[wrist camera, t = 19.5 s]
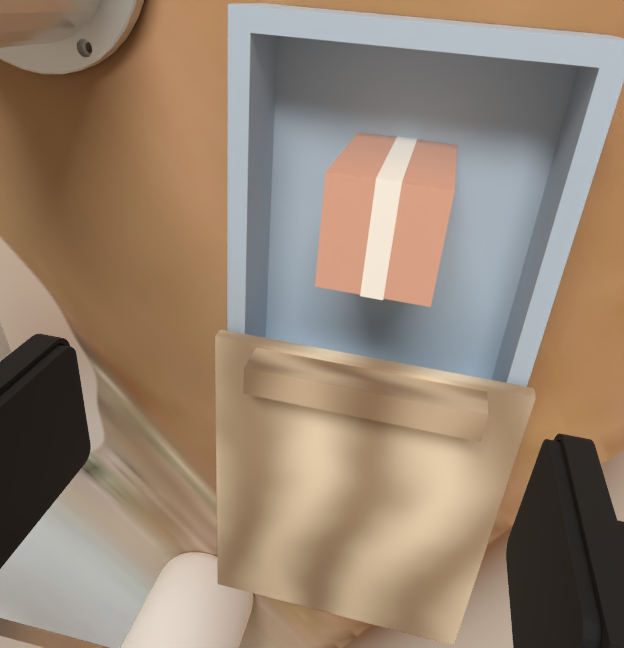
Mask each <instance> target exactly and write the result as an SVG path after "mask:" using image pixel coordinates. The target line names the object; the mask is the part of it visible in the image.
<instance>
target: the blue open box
mask: <svg viewBox="0 0 624 648" xmlns="http://www.w3.org/2000/svg"><path fill="white" fill-rule="evenodd" d="M623 82H624V38H620V37H616V36H612V35H607V34H596V33H585V32H574V31H563V30H552V29H541V28H530V27H519V26H508V25H497V24H487V23H476V22H465V21H454V20H443V19H432V18H421V17H410V16H399V15H388V14H377V13H366V12H355V11H344V10H333V9H322V8H311V7H300V6H289V5H279V4H268V3H244V4H228V296H227V331H231V332H237V333H242V334H247V335H253V336H258V337H264V338H269V339H274V340H280V341H285V342H290V343H296V344H301V345H306V346H312V347H317V348H323V349H328V350H333V351H339V352H344V353H349V354H355V355H360V356H365V357H371V358H376V359H381V360H387V361H392V362H398V363H403V364H408V365H414V366H419V367H424V368H430V369H435V370H440V371H446V372H451V373H456V374H462V375H467V376H473V377H478V378H483V379H489V380H494V381H499V382H505V383H510V384H515V385H521V386H526V387H527V384H528V381H529V378H530V375H531V372H532V369H533V365H534V362H535V359H536V356H537V353H538V350H539V346H540V343H541V340H542V337H543V334H544V331H545V328H546V324H547V321H548V318H549V315H550V312H551V309H552V306H553V302H554V299H555V296H556V293H557V290H558V287H559V284H560V280H561V277H562V274H563V271H564V268H565V265H566V261H567V258H568V255H569V252H570V249H571V246H572V243H573V239H574V236H575V233H576V230H577V227H578V224H579V221H580V217H581V214H582V211H583V208H584V205H585V202H586V199H587V195H588V192H589V189H590V186H591V183H592V180H593V176H594V173H595V170H596V167H597V164H598V161H599V158H600V154H601V151H602V148H603V145H604V142H605V139H606V136H607V132H608V129H609V126H610V123H611V120H612V117H613V114H614V110H615V107H616V104H617V101H618V98H619V95H620V91H621V88H622V85H623ZM358 132H360V133H367V134H375V135H383V136H390V137H397V136H400V137H407V138H415V139H417V140H421V141H428V142H436V143H443V144H451V145H458V146H457V163H456V180H455V192H454V197H453V202H452V207H451V211H450V216H449V221H448V226H447V231H446V236H445V240H444V245H443V250H442V255H441V260H440V265H439V269H438V274H437V279H436V284H435V289H434V294H433V298H432V303H431V307H428V306H422V305H417V304H411V303H405V302H400V301H394V300H388V299H383V300H379V299H373V298H368V297H362V296H360V294H354V293H348V292H343V291H337V290H331V289H326V288H320V287H315V280H316V269H317V258H318V247H319V236H320V225H321V214H322V204H323V193H324V182H325V172H326V171H327V169H328V168H329V167H330V166H331V165H332V163H333V162H334V161H335V160H336V158H337V157H338V156H339V155H340V154H341V152H342V151H343V150H344V149H345V147H346V146H347V145H348V144H349V142H350V141H351V140H352V139H353V138H354V136H355V135H356V134H357V133H358Z"/></svg>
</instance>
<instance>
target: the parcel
mask: <svg viewBox="0 0 624 648" xmlns="http://www.w3.org/2000/svg"><path fill="white" fill-rule="evenodd" d="M457 146H458V145H451V144H443V143H436V142H428V141H421V140H417V139H415V138H407V137H400V136H397V137H390V136H383V135H375V134H367V133H360V132H358V133H357V134H356V135H355V136H354V138H353V139H352V140H351V141H350V142H349V144H348V145H347V146H346V147H345V149H344V150H343V151H342V152H341V154H340V155H339V156H338V157H337V158H336V160H335V161H334V162H333V163H332V165H331V166H330V167H329V168H328V169H327V171H326V172H325V182H324V193H323V204H322V214H321V225H320V236H319V247H318V258H317V269H316V280H315V287H320V288H326V289H331V290H337V291H343V292H348V293H354V294H360V296H362V297H368V298H373V299H379V300H383V299H388V300H394V301H400V302H405V303H411V304H417V305H422V306H428V307H431V303H432V298H433V294H434V289H435V284H436V279H437V274H438V269H439V265H440V260H441V255H442V250H443V245H444V240H445V236H446V231H447V226H448V221H449V216H450V211H451V207H452V202H453V197H454V192H455V180H456V163H457Z"/></svg>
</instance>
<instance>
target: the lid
mask: <svg viewBox="0 0 624 648" xmlns="http://www.w3.org/2000/svg"><path fill="white" fill-rule="evenodd" d="M215 388H216V480H217V572H218V584H219V585H223V586H227V587H231V588H235V589H239V590H242V591H246V592H250V593H254V594H258V595H262V596H265V597H269V598H273V599H277V600H281V601H285V602H289V603H292V604H296V605H300V606H304V607H308V608H312V609H315V610H319V611H323V612H327V613H331V614H335V615H339V616H342V617H346V618H350V619H354V620H358V621H362V622H365V623H369V624H373V625H377V626H381V627H385V628H389V629H392V630H396V631H400V632H404V633H408V634H412V635H415V636H419V637H424V638H427V639H431V640H435V641H438V642H443V643H447V644H450V645H454V644H455V641H456V638H457V634H458V632H459V629H460V625H461V622H462V619H463V616H464V613H465V610H466V607H467V604H468V601H469V598H470V595H471V592H472V589H473V586H474V583H475V580H476V577H477V574H478V571H479V568H480V565H481V562H482V559H483V556H484V553H485V550H486V547H487V544H488V541H489V538H490V535H491V532H492V529H493V526H494V523H495V520H496V517H497V514H498V511H499V508H500V505H501V502H502V499H503V496H504V493H505V490H506V487H507V484H508V481H509V478H510V475H511V472H512V469H513V465H514V462H515V459H516V456H517V453H518V450H519V447H520V444H521V441H522V438H523V435H524V432H525V429H526V426H527V423H528V420H529V417H530V414H531V411H532V408H533V405H534V402H535V399H536V394H535V388H532V387H526V386H521V385H515V384H510V383H505V382H499V381H494V380H489V379H483V378H478V377H473V376H467V375H462V374H456V373H451V372H446V371H440V370H435V369H430V368H424V367H419V366H414V365H408V364H403V363H398V362H392V361H387V360H381V359H376V358H371V357H365V356H360V355H355V354H349V353H344V352H339V351H333V350H328V349H323V348H317V347H312V346H306V345H301V344H296V343H290V342H285V341H280V340H274V339H269V338H264V337H258V336H253V335H247V334H242V333H237V332H231V331H226V330H221V329H220V331H219V332H218V333H217V335H216V336H215Z"/></svg>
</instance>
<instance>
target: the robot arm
mask: <svg viewBox="0 0 624 648" xmlns="http://www.w3.org/2000/svg"><path fill="white" fill-rule="evenodd" d="M143 2H144V0H0V59H1V60H3V61H5V62H7V63H9V64H11V65H14V66H16V67H18V68H20V69H23V70H27V71H31V72H36V73H40V74H66V73H72V72H77V71H82V70H84V69H87V68H89V67H92V66H95V65H97V64H99V63H100V62H102V61H103V60H105V59H106V58H108V57H109V56H110V55H112V54H113V53H114V52H115V51H116V50H117V49H118V48H119V47H120V45H121V44H122V43H123V42H124V41H125V40H126V39H127V37H128V36H129V34H130V32H131V30H132V28H133V27H134V25H135V23H136V21H137V19H138V18H139V15H140V11H141V8H142V5H143ZM90 44H91V46H92V50H91V47H90ZM89 453H90V440H89V433H88V426H87V420H86V414H85V407H84V400H83V394H82V388H81V381H80V375H79V369H78V363H77V355H76V351H75V350H74V348H72V347H70V345H69V343H68V341H67V340H66V339H64V338H59V337H54V336H48V335H43V334H36V335H34V336H32V337H31V338H30V339H28V340H27V341H26V342H25V343H23V344H22V345H21V346H19V347H18V348H17V349H16V350H14V351H13V352H12V353H11V354H9V355H8V356H7V357H6V358H4V359H3V360H2V361H1V362H0V569H1V567H2V566H3V565H4V564H5V562H6V561H7V560H8V559H9V557H10V556H11V555H12V554H13V552H14V551H15V550H16V549H17V547H18V546H19V545H20V544H21V542H22V541H23V540H24V539H25V537H26V536H27V535H28V534H29V532H30V531H31V530H32V529H33V527H34V526H35V525H36V524H37V522H38V521H39V520H40V519H41V517H42V516H43V515H44V514H45V512H46V511H47V510H48V509H49V508H50V506H51V505H52V504H53V503H54V501H55V500H56V499H57V498H58V496H59V495H60V494H61V493H62V491H63V490H64V489H65V488H66V486H67V485H68V484H69V483H70V481H71V480H72V479H73V478H74V476H75V475H76V474H77V473H78V471H79V470H80V469H81V468H82V466H83V465H84V464H85V462H86V461H87V459H88V457H89ZM506 553H507V554H506V558H507V559H506V560H507V572H508V585H509V597H510V609H511V621H512V634H513V646H514V648H624V522H622V521H617V518H616V515H615V512H614V508H613V505H612V502H611V498H610V495H609V492H608V488H607V485H606V482H605V478H604V475H603V471H602V468H601V465H600V461H599V458H598V455H597V451H596V448H595V445H594V443H593V441H592V440H590V439H585V438H580V437H575V436H569V435H564V434H557V436H556V437H555V439H554V441H553V440H548V439H546V440H544V442H543V444H542V446H541V449H540V452H539V455H538V457H537V460H536V463H535V466H534V469H533V471H532V474H531V477H530V480H529V483H528V485H527V488H526V491H525V494H524V497H523V499H522V502H521V505H520V508H519V511H518V513H517V516H516V519H515V522H514V525H513V527H512V531H511V533H510V536H509V539H508V543H507V552H506ZM0 648H108V647H104V646H101V645H97V644H93V643H90V642H86V641H83V640H79V639H75V638H72V637H68V636H64V635H61V634H57V633H53V632H50V631H46V630H42V629H38V628H35V627H31V626H27V625H24V624H20V623H16V622H13V621H9V620H5V619H2V618H0Z"/></svg>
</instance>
